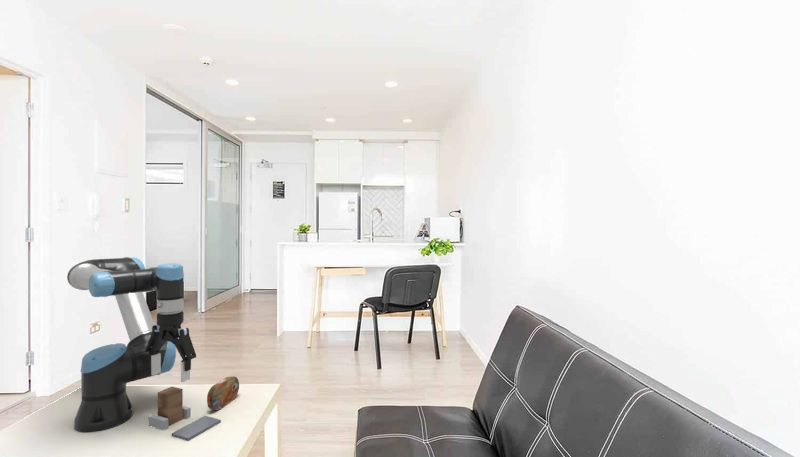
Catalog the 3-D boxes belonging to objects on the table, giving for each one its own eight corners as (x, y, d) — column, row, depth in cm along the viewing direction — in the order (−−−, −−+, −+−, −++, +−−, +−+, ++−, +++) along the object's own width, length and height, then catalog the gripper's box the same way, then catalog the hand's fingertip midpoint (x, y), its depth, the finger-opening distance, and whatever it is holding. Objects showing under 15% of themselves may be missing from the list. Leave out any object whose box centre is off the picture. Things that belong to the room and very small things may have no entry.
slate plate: (171, 435, 119) (171, 433, 119) (204, 417, 130) (204, 415, 130) (188, 440, 117) (188, 438, 117) (220, 422, 128) (220, 419, 128)
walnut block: (157, 423, 127) (157, 392, 127) (171, 416, 131) (171, 386, 131) (168, 426, 125) (168, 395, 125) (182, 419, 130) (182, 388, 129)
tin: (213, 414, 133) (213, 389, 133) (205, 413, 134) (205, 388, 134) (239, 395, 148) (240, 373, 148) (232, 394, 148) (232, 372, 148)
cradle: (148, 425, 125) (148, 416, 125) (175, 412, 134) (175, 403, 134) (163, 430, 122) (163, 420, 122) (190, 416, 131) (190, 407, 131)
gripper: (132, 310, 129) (133, 375, 129) (187, 317, 119) (187, 387, 120) (154, 306, 136) (155, 368, 136) (208, 312, 126) (208, 378, 127)
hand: (170, 377), depth 128 cm, fingers open, 13 cm apart
